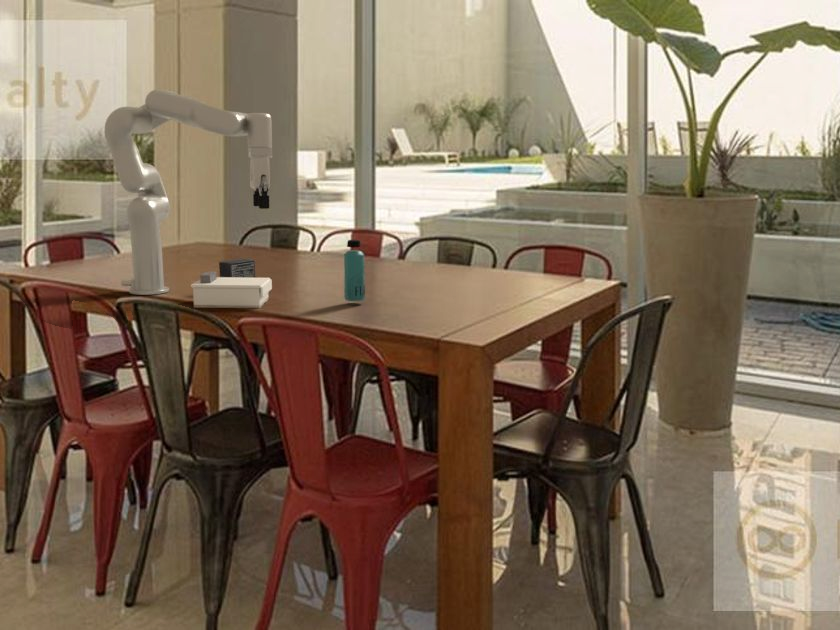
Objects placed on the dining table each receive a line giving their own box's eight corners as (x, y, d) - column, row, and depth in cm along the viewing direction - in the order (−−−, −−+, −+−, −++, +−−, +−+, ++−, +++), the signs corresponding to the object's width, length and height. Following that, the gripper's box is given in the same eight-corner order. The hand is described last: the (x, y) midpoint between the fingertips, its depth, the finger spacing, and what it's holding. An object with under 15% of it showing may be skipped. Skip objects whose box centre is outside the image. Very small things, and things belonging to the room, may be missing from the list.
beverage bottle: (354, 306, 272) (354, 241, 268) (339, 304, 276) (338, 239, 272) (369, 303, 276) (369, 239, 272) (354, 301, 281) (354, 238, 277)
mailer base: (193, 307, 269) (193, 287, 268) (205, 299, 283) (205, 280, 282) (259, 308, 269) (259, 288, 268) (268, 299, 283) (267, 281, 281)
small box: (244, 288, 304) (243, 257, 302) (256, 290, 300) (255, 259, 298) (219, 292, 296) (218, 261, 294) (232, 294, 292) (230, 263, 289)
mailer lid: (191, 296, 268) (190, 276, 267) (204, 288, 283) (203, 269, 282) (262, 296, 268) (262, 277, 266) (271, 288, 282) (271, 270, 281)
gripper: (243, 152, 288) (245, 205, 291) (253, 153, 272) (254, 209, 275) (266, 152, 290) (267, 205, 294) (277, 153, 274) (278, 209, 278)
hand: (261, 207), depth 285 cm, fingers open, 9 cm apart
